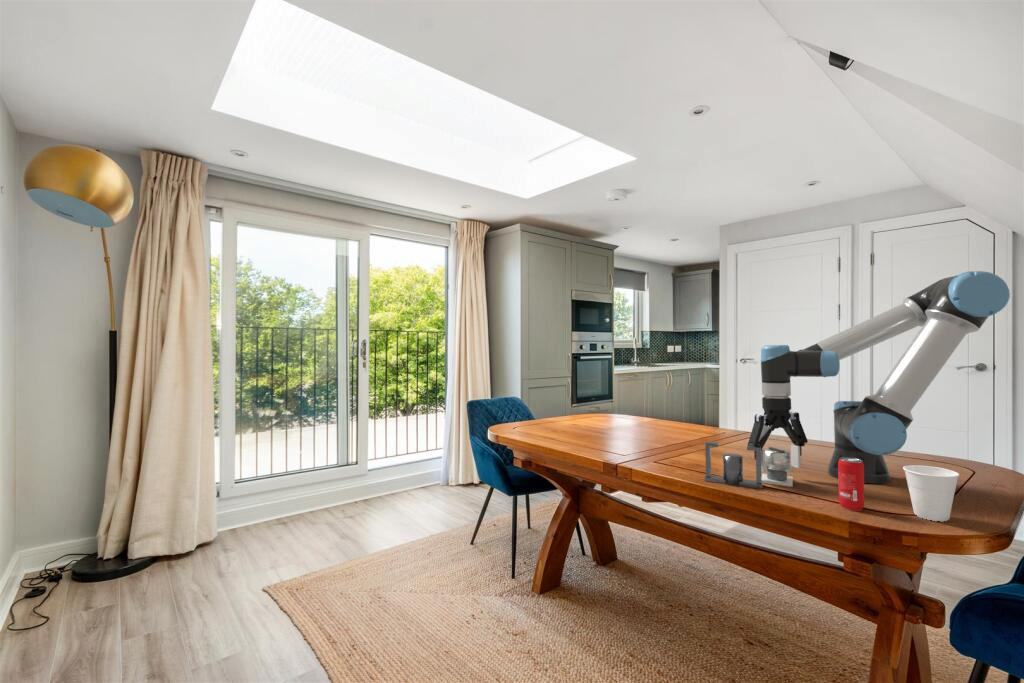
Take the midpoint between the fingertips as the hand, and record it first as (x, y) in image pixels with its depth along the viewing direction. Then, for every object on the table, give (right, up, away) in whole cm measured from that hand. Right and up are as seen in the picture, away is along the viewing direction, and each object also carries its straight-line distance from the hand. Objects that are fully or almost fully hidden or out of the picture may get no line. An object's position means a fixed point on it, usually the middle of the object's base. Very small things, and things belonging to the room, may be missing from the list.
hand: (778, 469), depth 140 cm
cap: (-1, +1, 0) cm, 1 cm away
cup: (+19, -3, -30) cm, 35 cm away
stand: (-1, -3, 0) cm, 4 cm away
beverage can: (+5, -4, -23) cm, 24 cm away
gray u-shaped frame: (-14, -4, -1) cm, 15 cm away
